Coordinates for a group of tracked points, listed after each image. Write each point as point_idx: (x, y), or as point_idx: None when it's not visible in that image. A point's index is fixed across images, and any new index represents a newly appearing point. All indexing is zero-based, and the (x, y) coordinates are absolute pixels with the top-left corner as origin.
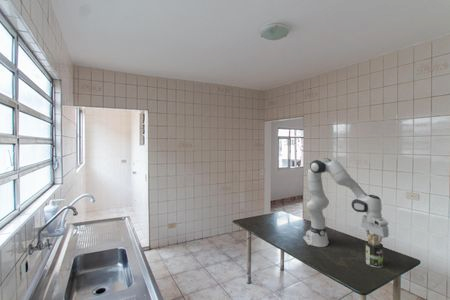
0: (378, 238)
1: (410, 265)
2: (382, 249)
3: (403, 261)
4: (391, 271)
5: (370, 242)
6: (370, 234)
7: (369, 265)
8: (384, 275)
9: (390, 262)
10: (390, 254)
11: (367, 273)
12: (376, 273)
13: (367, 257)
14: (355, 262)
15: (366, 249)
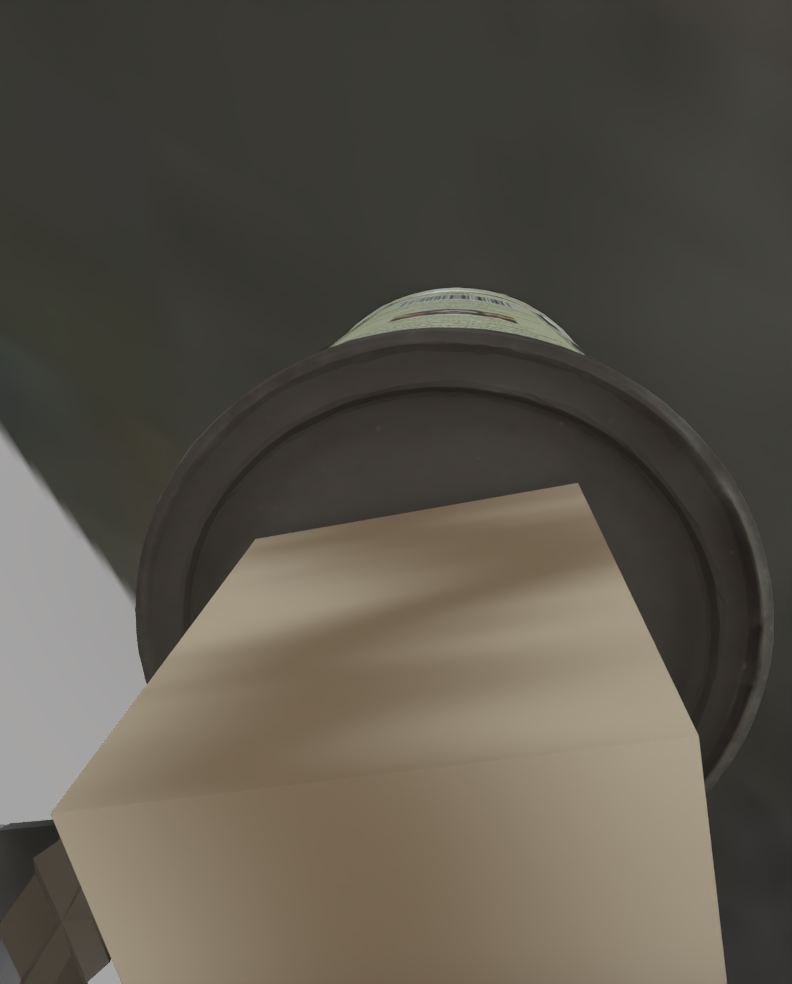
0: (10, 980)
1: None
2: None
3: None
4: None
5: (435, 531)
6: (638, 897)
7: (386, 304)
8: (51, 381)
9: None
10: (758, 909)
11: (84, 84)
12: (103, 274)
13: (429, 300)
14: (536, 48)
15: (479, 318)
